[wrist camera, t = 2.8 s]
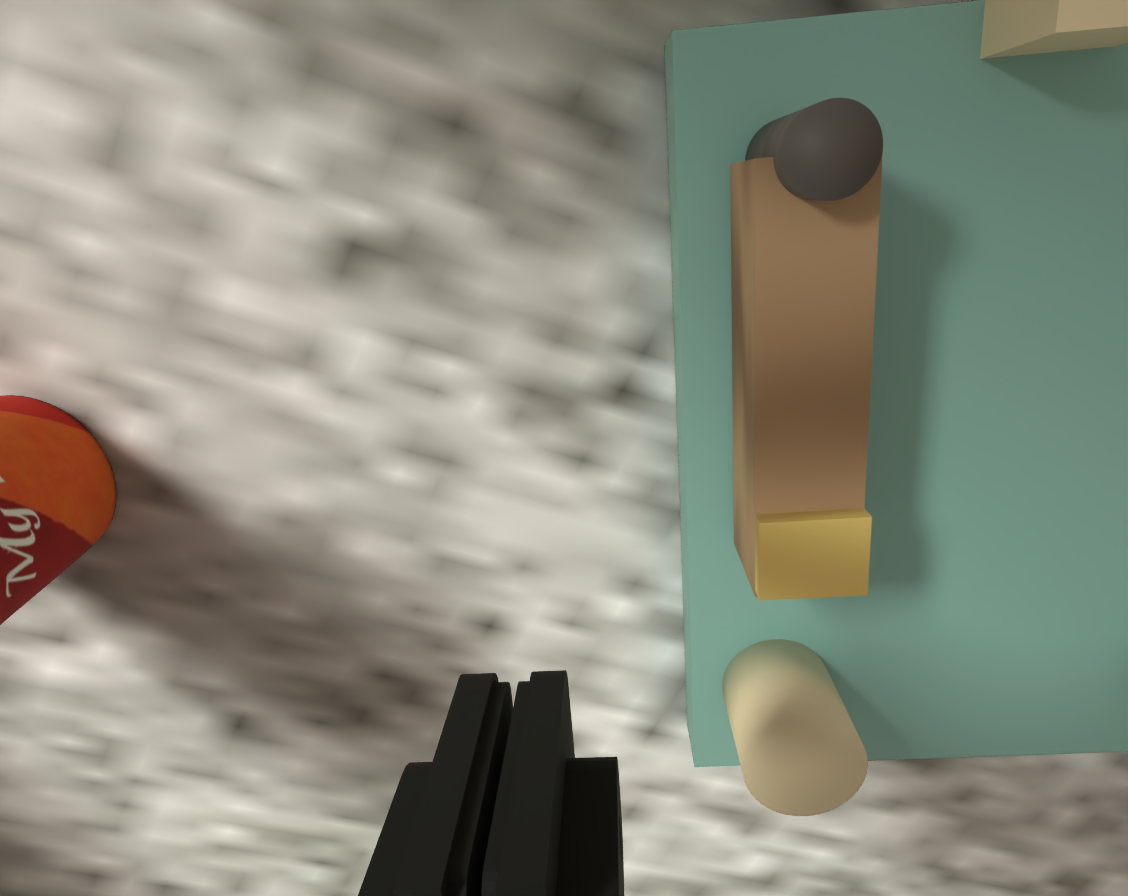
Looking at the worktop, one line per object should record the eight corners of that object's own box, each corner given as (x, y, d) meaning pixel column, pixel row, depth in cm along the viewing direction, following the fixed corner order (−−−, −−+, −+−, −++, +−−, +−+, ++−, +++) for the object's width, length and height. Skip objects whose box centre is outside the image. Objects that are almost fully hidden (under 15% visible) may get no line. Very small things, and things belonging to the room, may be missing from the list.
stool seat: (664, 46, 19) (690, -8, 14) (1371, -22, 18) (1683, -109, 13) (687, 724, 26) (710, 859, 21) (1204, 704, 25) (1365, 840, 20)
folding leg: (729, 122, 18) (766, 104, 14) (838, 113, 17) (905, 91, 14) (733, 543, 21) (763, 619, 17) (824, 537, 21) (874, 613, 17)
